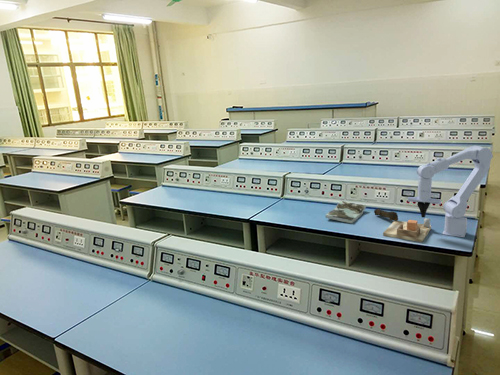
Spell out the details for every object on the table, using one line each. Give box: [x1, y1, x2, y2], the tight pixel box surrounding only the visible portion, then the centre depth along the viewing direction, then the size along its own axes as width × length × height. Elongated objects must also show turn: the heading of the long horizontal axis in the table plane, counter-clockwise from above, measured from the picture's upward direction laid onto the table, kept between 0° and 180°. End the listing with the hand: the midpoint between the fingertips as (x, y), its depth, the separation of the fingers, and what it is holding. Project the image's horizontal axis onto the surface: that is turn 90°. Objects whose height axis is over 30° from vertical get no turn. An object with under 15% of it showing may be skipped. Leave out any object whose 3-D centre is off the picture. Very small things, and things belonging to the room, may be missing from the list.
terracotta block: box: [406, 219, 418, 231], centre depth 185 cm, size 4×4×4 cm
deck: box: [382, 220, 432, 243], centre depth 186 cm, size 18×20×5 cm
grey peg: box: [423, 217, 431, 228], centre depth 187 cm, size 3×3×4 cm
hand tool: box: [373, 208, 399, 222], centre depth 205 cm, size 19×4×5 cm, turn 13°
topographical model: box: [325, 200, 367, 224], centre depth 218 cm, size 26×15×5 cm, turn 147°
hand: (423, 216), depth 181 cm, fingers closed
